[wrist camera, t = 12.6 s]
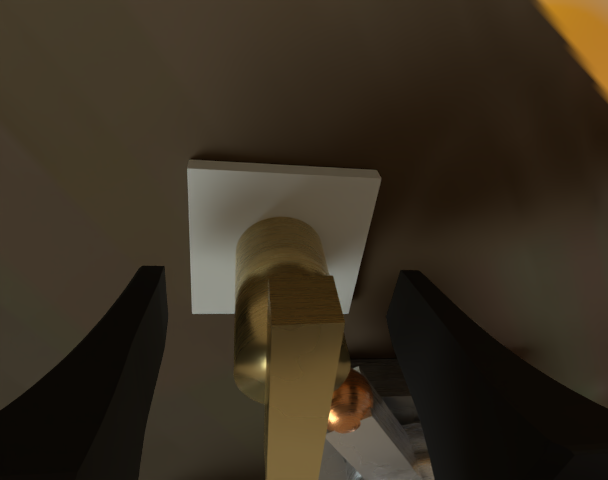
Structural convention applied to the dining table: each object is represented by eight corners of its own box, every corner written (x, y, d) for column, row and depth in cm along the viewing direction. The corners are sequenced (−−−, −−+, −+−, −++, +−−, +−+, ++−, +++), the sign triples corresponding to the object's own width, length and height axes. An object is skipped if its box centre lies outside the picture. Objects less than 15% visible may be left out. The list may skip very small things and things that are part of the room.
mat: (376, 169, 15) (381, 178, 14) (345, 303, 18) (348, 313, 18) (189, 159, 14) (187, 168, 13) (193, 302, 17) (192, 313, 17)
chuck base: (504, 357, 22) (525, 392, 20) (447, 456, 27) (460, 491, 25) (320, 359, 20) (328, 398, 18) (298, 464, 25) (302, 502, 24)
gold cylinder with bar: (331, 170, 14) (385, 321, 9) (314, 317, 18) (345, 484, 12) (233, 169, 13) (229, 326, 8) (237, 320, 17) (236, 493, 12)
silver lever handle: (480, 462, 23) (515, 542, 20) (372, 500, 24) (390, 581, 21) (398, 315, 16) (434, 406, 13) (249, 378, 17) (251, 476, 14)
